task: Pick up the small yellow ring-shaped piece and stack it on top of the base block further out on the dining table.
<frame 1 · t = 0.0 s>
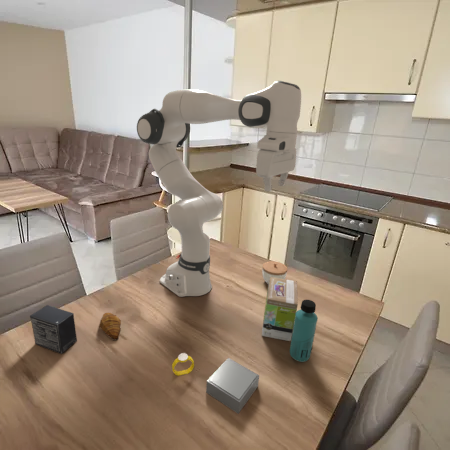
hand: (274, 188, 94), 48 cm above the table, fingers open, 8 cm apart
beverage bottle: (298, 358, 93), on the table
lidded jar: (272, 282, 134), on the table
small box: (56, 343, 93), on the table
tea box: (277, 325, 107), on the table
base: (232, 389, 81), on the table
croissant: (110, 329, 101), on the table
yellow ring-shaped piece: (183, 373, 85), on the table
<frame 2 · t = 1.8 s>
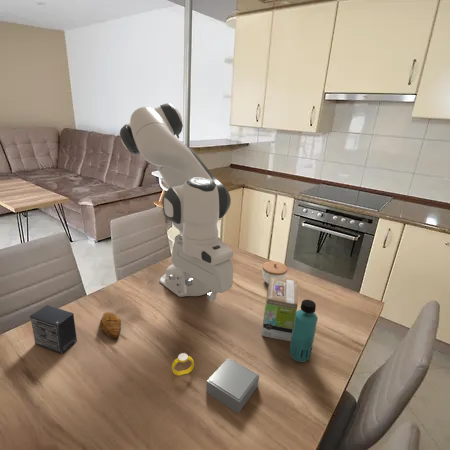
hand: (199, 292, 81), 24 cm above the table, fingers open, 8 cm apart
nothing on the table moved.
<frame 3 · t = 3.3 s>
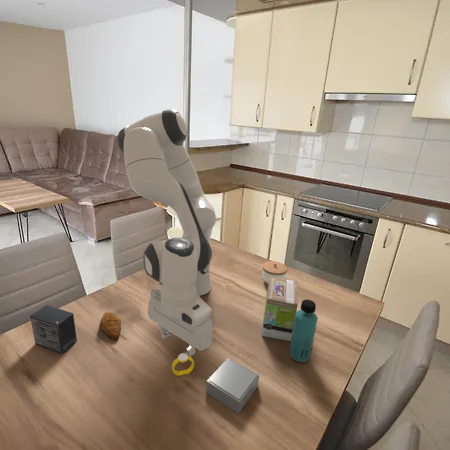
hand: (177, 345, 82), 10 cm above the table, fingers open, 8 cm apart
nothing on the table moved.
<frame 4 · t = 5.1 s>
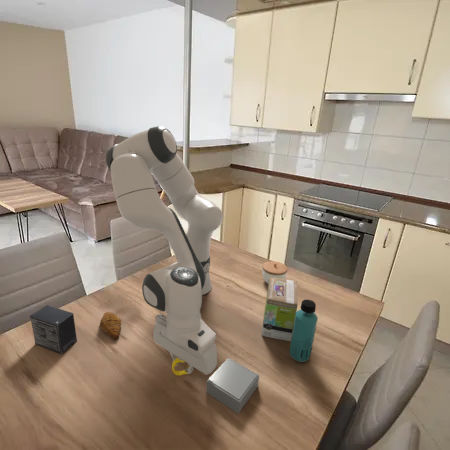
hand: (183, 367, 85), 2 cm above the table, fingers closed on yellow ring-shaped piece, 3 cm apart
yellow ring-shaped piece: (183, 373, 85), on the table, touching gripper
everything else where it was.
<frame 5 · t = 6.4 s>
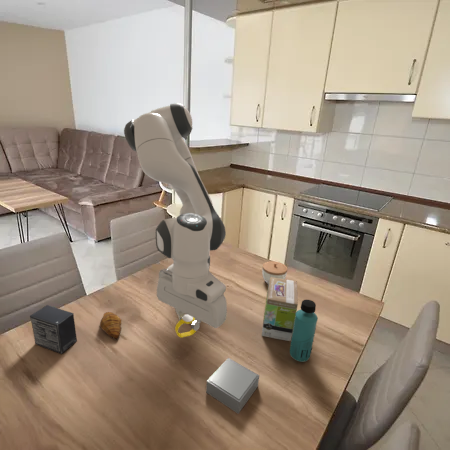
hand: (189, 325, 80), 16 cm above the table, fingers closed on yellow ring-shaped piece, 3 cm apart
yellow ring-shaped piece: (185, 335, 81), point 13 cm above the table, touching gripper
everything else where it was.
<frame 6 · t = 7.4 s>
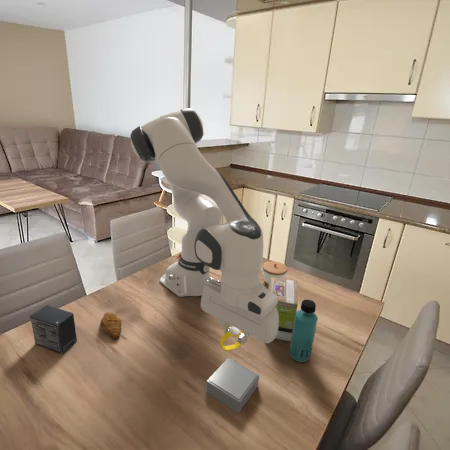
hand: (234, 338, 75), 17 cm above the table, fingers closed on yellow ring-shaped piece, 3 cm apart
yellow ring-shaped piece: (230, 348, 76), point 14 cm above the table, touching gripper
everything else where it was.
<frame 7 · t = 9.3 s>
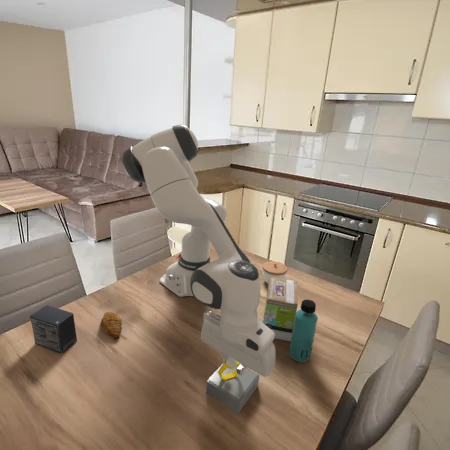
hand: (233, 368, 79), 7 cm above the table, fingers closed on yellow ring-shaped piece, 3 cm apart
yellow ring-shaped piece: (228, 377, 80), point 4 cm above the table, touching base, gripper
everything else where it was.
when the fingers open (7 cm above the table, at t = 9.8 s): yellow ring-shaped piece stays where it is, resting on base.
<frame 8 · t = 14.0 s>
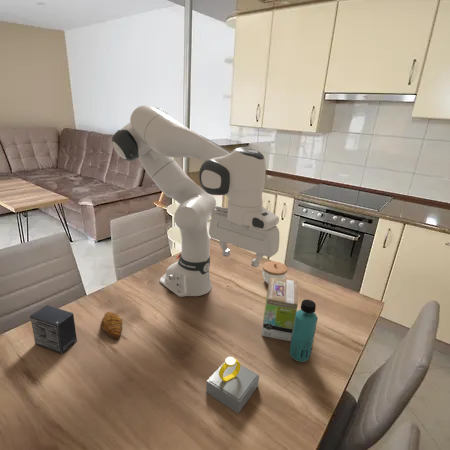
hand: (240, 260, 84), 31 cm above the table, fingers open, 8 cm apart
yellow ring-shaped piece: (229, 378, 80), point 4 cm above the table, touching base
everything else where it was.
at the end: yellow ring-shaped piece inside the target area on the base (1.1 cm from its centre), point 4.0 cm above the base's base; yellow ring-shaped piece tilted 1°; the gripper is holding nothing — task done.
